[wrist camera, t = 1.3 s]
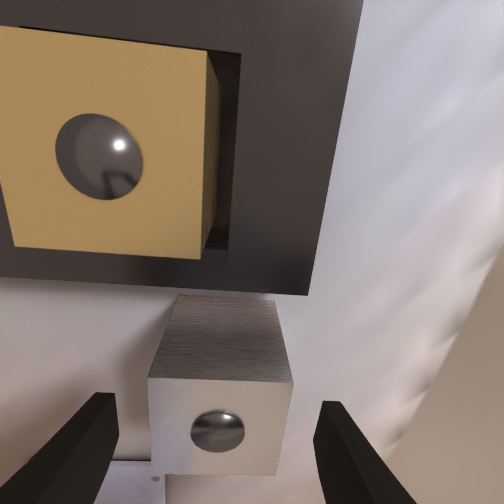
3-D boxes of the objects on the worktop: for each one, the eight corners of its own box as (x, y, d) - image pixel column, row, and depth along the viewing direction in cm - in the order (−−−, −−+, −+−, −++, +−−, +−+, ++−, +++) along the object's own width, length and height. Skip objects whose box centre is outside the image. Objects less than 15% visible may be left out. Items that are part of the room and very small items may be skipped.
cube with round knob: (264, 373, 15) (275, 478, 10) (179, 369, 15) (151, 477, 10) (274, 300, 14) (294, 385, 9) (179, 294, 13) (145, 380, 8)
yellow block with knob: (215, 213, 12) (199, 261, 7) (105, 204, 12) (12, 247, 7) (221, 92, 10) (205, 49, 5) (93, 78, 10) (-41, 19, 5)
